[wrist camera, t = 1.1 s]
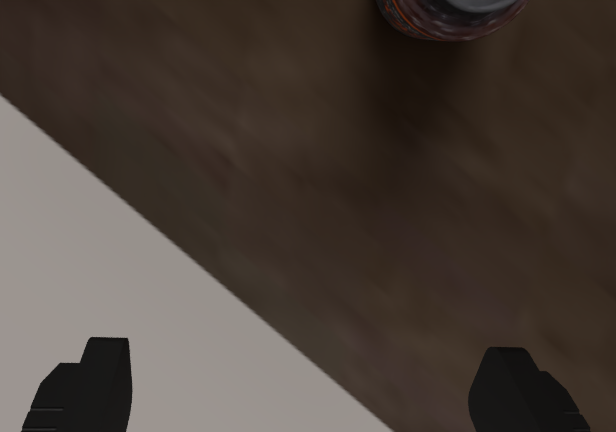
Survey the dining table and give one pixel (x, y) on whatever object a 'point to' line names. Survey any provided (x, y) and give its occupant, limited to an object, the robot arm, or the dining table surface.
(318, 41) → the dining table surface
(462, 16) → the supplement bottle
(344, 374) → the dining table surface
